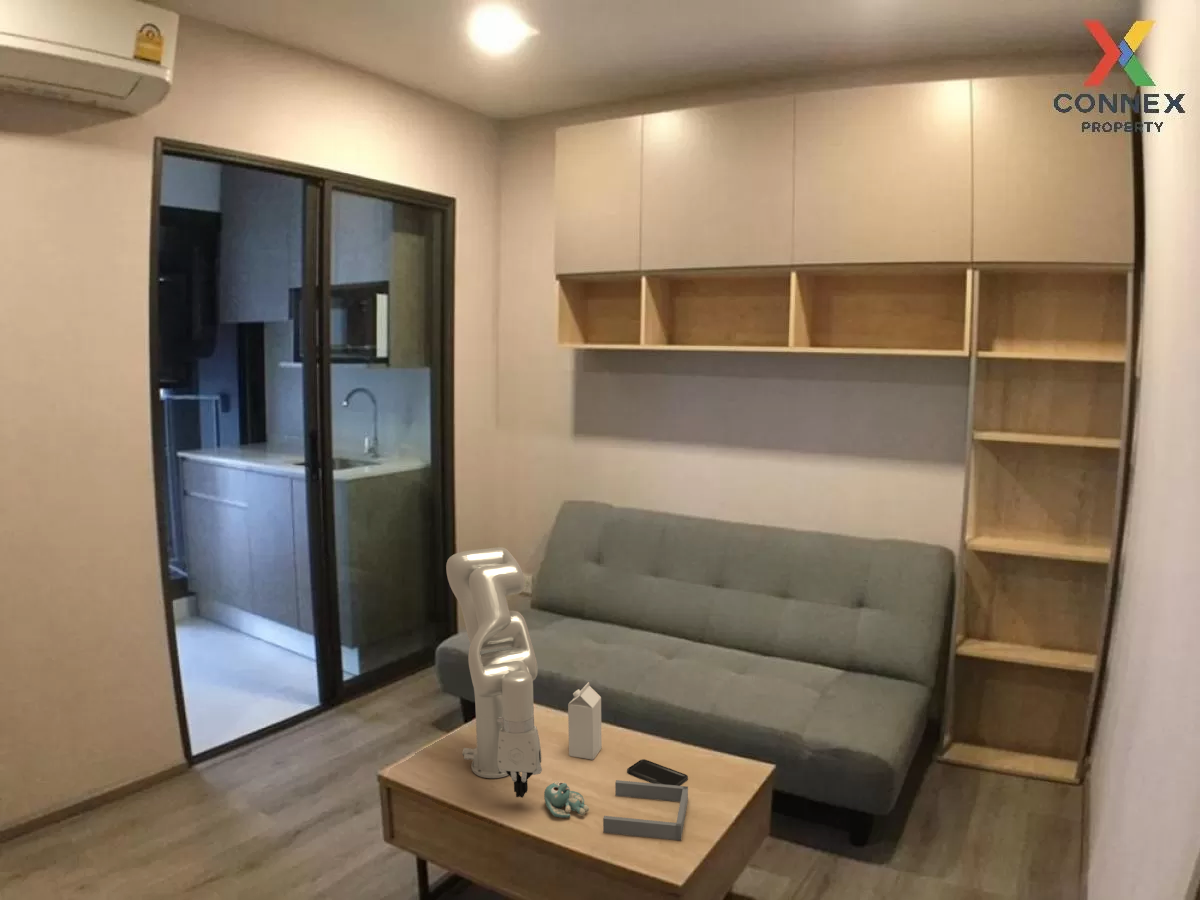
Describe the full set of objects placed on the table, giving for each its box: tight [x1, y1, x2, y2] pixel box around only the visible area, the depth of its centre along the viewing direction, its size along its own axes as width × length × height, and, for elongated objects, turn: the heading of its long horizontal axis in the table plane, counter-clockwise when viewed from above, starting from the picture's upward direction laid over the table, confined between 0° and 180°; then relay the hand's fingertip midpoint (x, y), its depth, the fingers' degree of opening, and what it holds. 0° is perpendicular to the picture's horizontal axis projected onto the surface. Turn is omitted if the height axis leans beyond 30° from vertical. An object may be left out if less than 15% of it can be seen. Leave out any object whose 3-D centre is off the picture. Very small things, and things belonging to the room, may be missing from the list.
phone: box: [626, 758, 689, 786], centre depth 225 cm, size 8×1×15 cm
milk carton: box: [567, 681, 602, 761], centre depth 237 cm, size 7×7×19 cm
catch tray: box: [602, 779, 689, 842], centre depth 206 cm, size 18×17×4 cm
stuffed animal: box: [543, 780, 590, 819], centre depth 209 cm, size 11×7×12 cm
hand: (521, 794), depth 212 cm, fingers closed
